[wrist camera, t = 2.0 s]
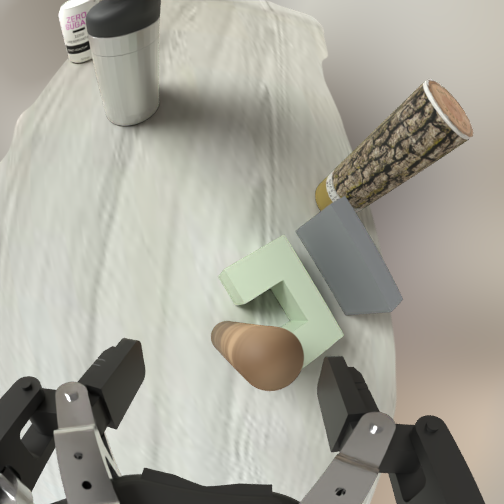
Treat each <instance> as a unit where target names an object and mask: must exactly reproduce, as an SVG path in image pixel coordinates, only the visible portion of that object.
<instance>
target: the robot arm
mask: <svg viewBox="0 0 504 504" xmlns="http://www.w3.org/2000/svg"><path fill="white" fill-rule="evenodd" d="M160 5H161V0H102V1H100V2H99V3H97V4H96V5H95V6H93V7H92V8H91V9H90V10H89V12H88V13H87V15H86V27H87V32H88V39H89V44H90V49H91V54H92V59H93V64H94V68H95V73H96V77H97V81H98V86H99V90H100V94H101V98H102V102H103V105H104V109H105V113H106V116H107V118H108V119H109V121H111V122H112V123H114V124H117V125H122V126H128V125H134V124H138V123H140V122H143V121H145V120H147V119H148V118H149V117H151V116H152V115H153V114H154V113H155V112H156V110H157V109H158V106H159V24H160ZM144 377H145V364H144V359H143V353H142V347H141V343H140V341H137V340H132V339H127V338H123V339H122V340H121V341H120V342H119V343H118V345H117V346H116V347H113V346H112V347H110V348H109V349H107V350H105V351H103V353H102V354H101V355H100V356H99V357H98V359H97V360H96V361H95V362H94V364H92V365H91V367H90V368H89V369H88V370H87V371H86V372H85V374H84V375H83V376H82V377H81V378H80V380H79V381H78V382H67V383H64V384H62V385H61V386H60V387H58V389H57V390H52V389H44V388H42V386H41V384H40V382H39V380H38V379H36V378H35V377H31V376H27V377H23V378H20V379H19V380H17V381H16V382H15V383H14V384H13V385H12V387H11V388H10V389H9V390H8V391H7V392H6V393H5V394H4V395H3V397H2V398H1V399H0V504H34V503H33V496H32V493H31V492H32V490H33V488H34V486H35V484H36V482H37V480H38V478H39V476H40V474H41V472H42V471H43V469H44V467H45V465H46V463H47V461H48V460H49V458H50V456H51V454H52V452H53V451H54V449H55V447H56V453H57V459H58V464H59V469H60V474H61V479H62V483H63V487H64V491H65V495H66V499H63V500H60V501H57V502H54V503H51V504H362V503H363V501H364V499H365V497H366V496H367V494H368V492H369V490H370V488H371V487H372V485H373V483H374V481H375V479H376V477H377V475H378V473H388V474H389V477H390V481H391V484H392V488H393V492H394V496H395V499H396V503H397V504H485V502H484V500H483V498H482V496H481V493H480V491H479V489H478V487H477V484H476V482H475V480H474V478H473V476H472V474H471V472H470V469H469V467H468V466H467V464H466V461H465V460H464V457H463V456H462V454H461V452H460V450H459V448H458V446H457V444H456V442H455V440H454V439H453V437H452V435H451V433H450V431H449V429H448V428H447V426H446V424H445V423H444V421H443V420H441V419H440V418H438V417H435V416H431V415H430V416H429V415H427V416H423V417H421V418H419V419H418V420H417V422H416V424H415V425H403V424H395V422H394V420H393V419H392V418H391V417H390V416H389V415H387V414H385V413H381V412H379V410H378V407H377V405H376V403H375V401H374V399H373V397H372V395H371V393H370V391H369V390H368V387H367V384H366V383H365V380H364V378H363V376H362V374H361V373H360V372H359V371H357V370H356V369H355V368H354V367H347V364H346V362H345V360H344V358H343V357H342V356H338V357H325V358H324V361H323V365H322V369H321V373H320V377H319V381H318V386H317V395H318V400H319V404H320V408H321V412H322V416H323V420H324V425H325V429H326V433H327V437H328V442H329V446H330V450H331V452H338V451H340V453H339V454H337V455H336V457H335V458H334V459H333V461H332V462H331V464H330V465H329V466H328V468H327V469H326V471H325V472H324V473H323V475H322V476H321V477H320V479H319V480H318V481H317V482H316V484H315V485H314V486H313V488H312V489H311V490H310V491H309V492H308V494H307V495H306V496H305V497H304V498H303V500H302V501H301V502H299V501H297V500H295V499H293V498H291V497H289V496H286V495H283V494H280V493H276V492H272V485H261V484H231V485H221V486H202V485H199V484H196V483H194V482H191V481H188V480H186V479H183V478H181V477H178V476H176V475H173V474H169V473H164V472H160V471H156V470H152V469H148V468H144V470H143V473H142V474H134V475H124V476H122V475H121V473H120V471H119V469H118V467H117V464H116V462H115V459H114V457H113V454H112V451H111V448H110V445H109V442H108V439H107V436H106V434H105V430H106V428H107V427H110V428H114V429H117V428H118V426H119V424H120V422H121V421H122V419H123V417H124V415H125V413H126V411H127V409H128V408H129V406H130V404H131V402H132V400H133V399H134V397H135V395H136V393H137V391H138V390H139V388H140V386H141V384H142V382H143V380H144ZM29 419H30V421H31V423H32V425H31V426H30V428H29V429H28V430H27V432H26V433H25V435H24V436H23V438H22V439H20V432H21V430H22V428H23V427H24V426H25V424H26V423H27V422H28V420H29Z"/></svg>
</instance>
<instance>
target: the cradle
mask: <svg viewBox="0 0 504 504" xmlns="http://www.w3.org/2000/svg"><path fill="white" fill-rule="evenodd" d="M218 277H219V279H220V280H221V282H222V284H223V285H224V287H225V289H226V290H227V292H228V294H229V295H230V297H231V299H232V300H233V302H234V303H235V305H236V306H237V305H242V304H246V303H248V302H249V301H251V300H252V299H254V298H255V297H257V296H259V295H260V294H262V293H263V292H265V291H266V290H268V289H271V290H272V292H273V294H274V295H275V297H276V299H277V300H278V302H279V303H280V305H281V307H282V308H283V310H284V312H285V313H286V315H287V316H288V318H289V320H290V321H289V322H288V323H286V324H285V325H283V326H282V327H281V328H284V329H286V330H289V331H290V332H292V333H293V334H294V335H295V336H296V337H297V338H298V339H299V341H300V343H301V345H302V348H303V352H304V362H303V366H302V369H303V368H304V367H306V366H307V365H308V364H309V363H311V362H312V361H313V360H315V359H316V358H317V357H318V356H320V355H321V354H322V353H323V352H325V351H326V350H327V349H328V348H330V347H331V346H332V345H333V344H334V343H336V342H337V341H338V340H339V339H340V338H341V337H343V336H344V334H343V333H342V331H341V329H340V327H339V325H338V324H337V322H336V320H335V318H334V317H333V315H332V313H331V312H330V310H329V308H328V306H327V305H326V303H325V301H324V300H323V298H322V296H321V294H320V293H319V291H318V289H317V288H316V286H315V284H314V283H313V281H312V279H311V278H310V276H309V274H308V273H307V271H306V269H305V268H304V266H303V264H302V263H301V261H300V259H299V258H298V256H297V254H296V253H295V251H294V250H293V248H292V246H291V245H290V243H289V241H288V240H287V238H286V237H285V235H282V236H280V237H279V238H277V239H275V240H274V241H272V242H270V243H268V244H267V245H265V246H263V247H262V248H260V249H258V250H256V251H255V252H253V253H251V254H249V255H248V256H246V257H244V258H243V259H241V260H239V261H237V262H236V263H234V264H232V265H230V266H229V267H227V268H225V269H224V270H223V271H222V272H221V274H220V275H219V276H218ZM302 369H301V370H302Z"/></svg>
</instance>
